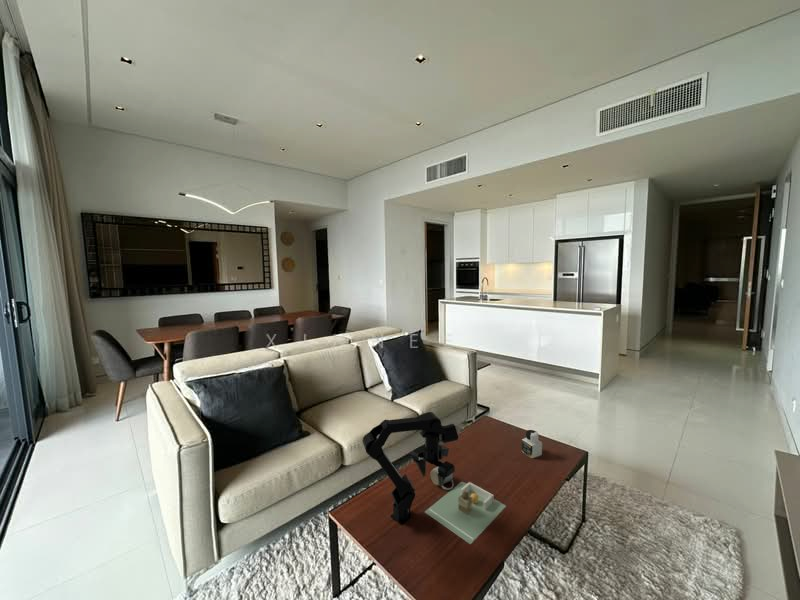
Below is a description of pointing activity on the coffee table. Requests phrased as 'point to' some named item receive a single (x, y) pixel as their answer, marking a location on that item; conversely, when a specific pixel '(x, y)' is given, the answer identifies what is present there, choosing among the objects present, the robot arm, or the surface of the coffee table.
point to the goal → (480, 492)
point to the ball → (474, 498)
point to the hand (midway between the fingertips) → (432, 480)
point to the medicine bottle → (531, 444)
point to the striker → (465, 503)
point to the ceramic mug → (436, 481)
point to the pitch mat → (459, 521)
